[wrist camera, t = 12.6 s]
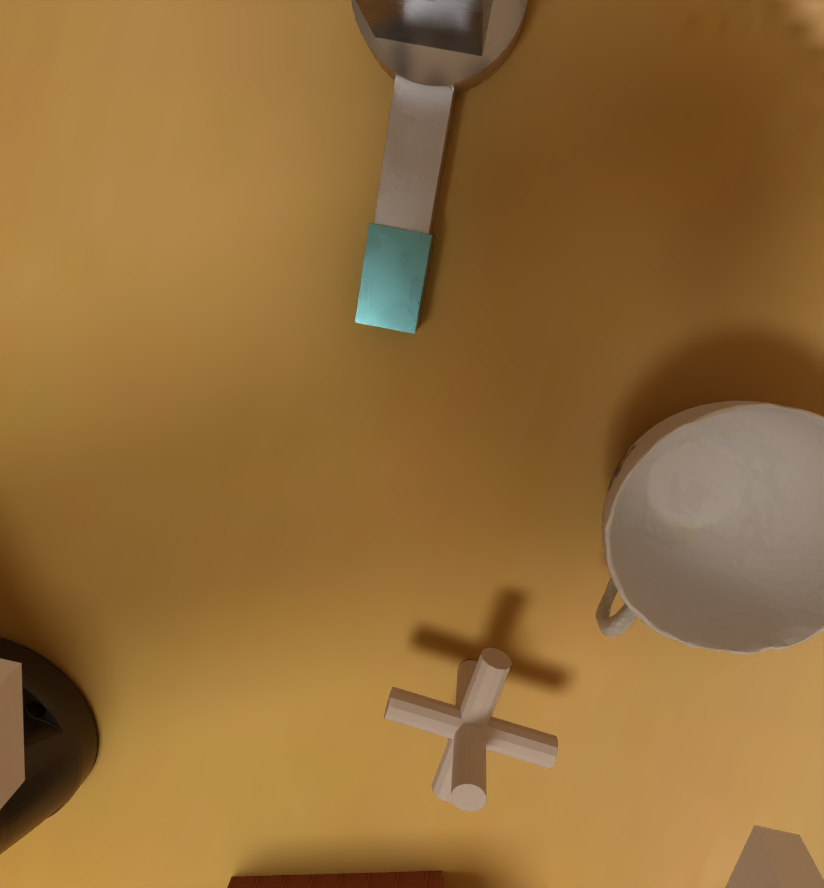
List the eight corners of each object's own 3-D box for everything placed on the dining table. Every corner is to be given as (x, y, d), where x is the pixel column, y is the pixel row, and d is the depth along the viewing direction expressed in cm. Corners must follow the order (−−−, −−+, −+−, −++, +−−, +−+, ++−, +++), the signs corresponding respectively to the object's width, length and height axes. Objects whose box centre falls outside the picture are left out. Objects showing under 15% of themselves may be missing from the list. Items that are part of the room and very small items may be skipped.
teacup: (701, 321, 34) (765, 345, 26) (859, 470, 35) (963, 533, 28) (507, 512, 38) (513, 580, 31) (655, 637, 40) (696, 730, 32)
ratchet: (320, 309, 36) (283, 325, 29) (373, -112, 29) (342, -215, 23) (460, 336, 35) (456, 358, 29) (544, -85, 29) (563, -181, 22)
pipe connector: (419, 586, 40) (400, 692, 31) (570, 631, 40) (597, 752, 31) (380, 708, 44) (351, 838, 34) (519, 750, 43) (530, 893, 34)
